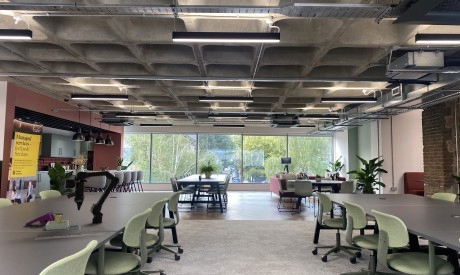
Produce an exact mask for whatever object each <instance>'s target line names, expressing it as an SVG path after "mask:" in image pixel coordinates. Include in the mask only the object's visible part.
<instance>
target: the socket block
mask: <svg viewBox="0 0 460 275" xmlns="http://www.w3.org/2000/svg"><path fill="white" fill-rule="evenodd" d="M81 227H82V226H80V224H75V225H73V224H72V225H70V224H69V226H68V228H67V231H70V230H71V231H72V230H81Z"/></svg>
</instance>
